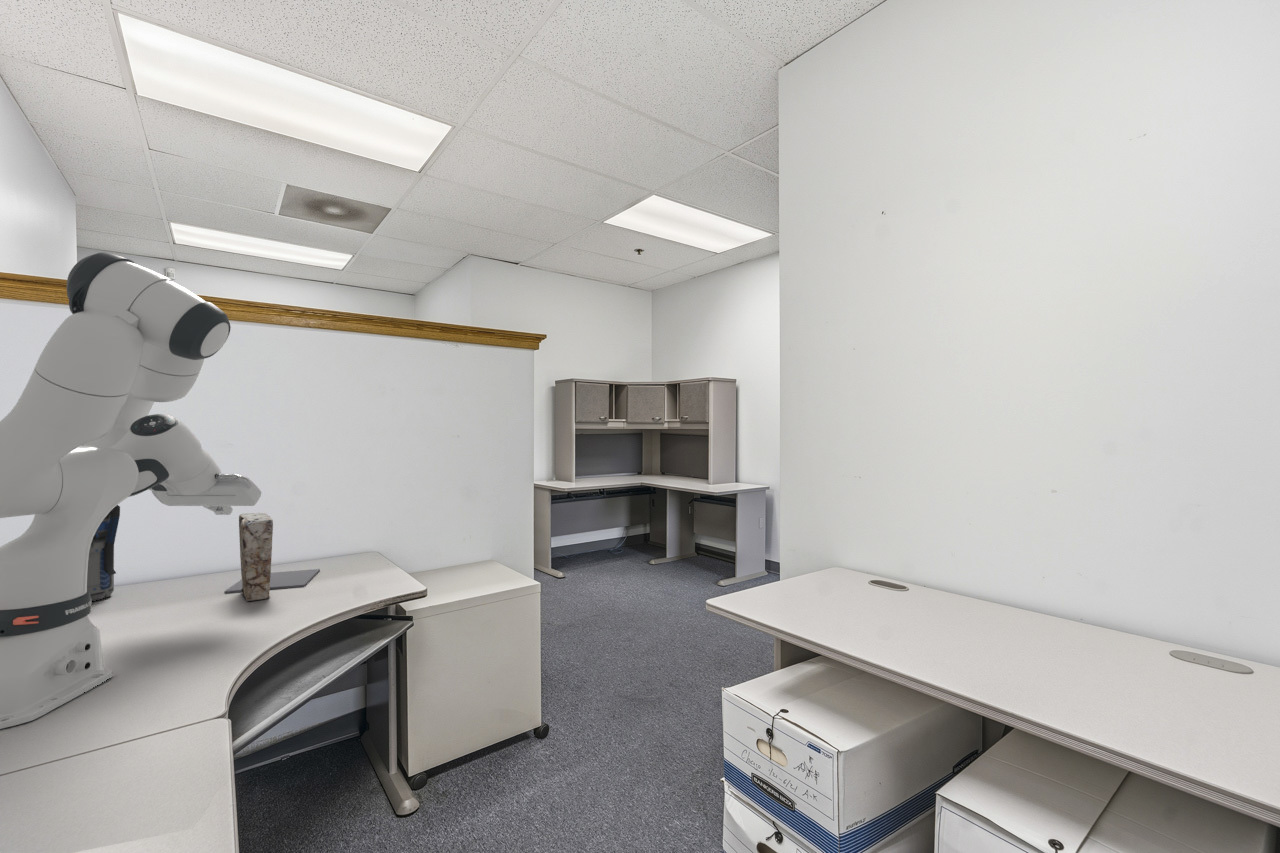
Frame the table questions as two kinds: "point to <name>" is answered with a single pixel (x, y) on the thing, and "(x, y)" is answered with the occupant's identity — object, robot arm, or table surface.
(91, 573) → the grey blue tall cylinder
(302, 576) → the mat
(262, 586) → the stone block
